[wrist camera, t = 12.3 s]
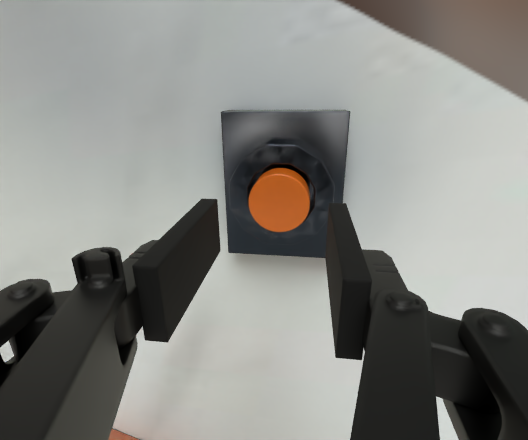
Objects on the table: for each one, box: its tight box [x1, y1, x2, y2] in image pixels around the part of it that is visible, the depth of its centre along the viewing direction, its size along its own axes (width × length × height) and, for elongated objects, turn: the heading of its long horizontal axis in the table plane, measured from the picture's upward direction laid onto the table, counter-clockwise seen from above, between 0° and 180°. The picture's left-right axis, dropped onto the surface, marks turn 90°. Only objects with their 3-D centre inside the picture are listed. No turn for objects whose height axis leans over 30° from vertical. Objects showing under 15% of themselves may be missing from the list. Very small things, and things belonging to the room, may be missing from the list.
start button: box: [248, 168, 310, 232], centre depth 19 cm, size 4×4×2 cm
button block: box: [221, 110, 350, 258], centre depth 22 cm, size 10×8×4 cm
